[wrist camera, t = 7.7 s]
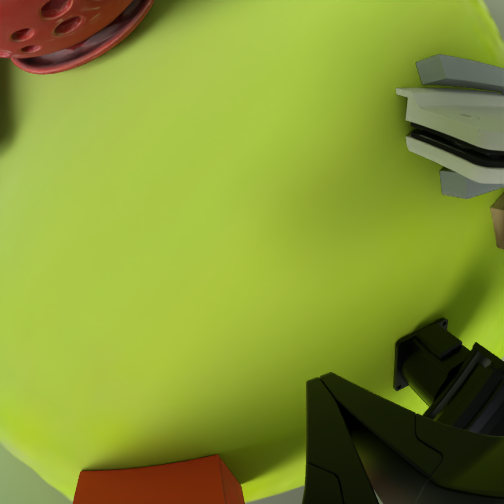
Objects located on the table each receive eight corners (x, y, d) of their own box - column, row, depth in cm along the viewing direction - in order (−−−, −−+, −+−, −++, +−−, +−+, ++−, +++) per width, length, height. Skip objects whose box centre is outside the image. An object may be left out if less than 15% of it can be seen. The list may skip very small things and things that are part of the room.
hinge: (498, 92, 20) (571, 124, 12) (496, 132, 23) (564, 169, 15) (391, 88, 18) (500, 122, 10) (393, 144, 21) (488, 199, 13)
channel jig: (521, 172, 23) (546, 176, 19) (442, 194, 21) (476, 200, 17) (504, 77, 19) (529, 74, 16) (415, 62, 18) (447, 51, 14)
